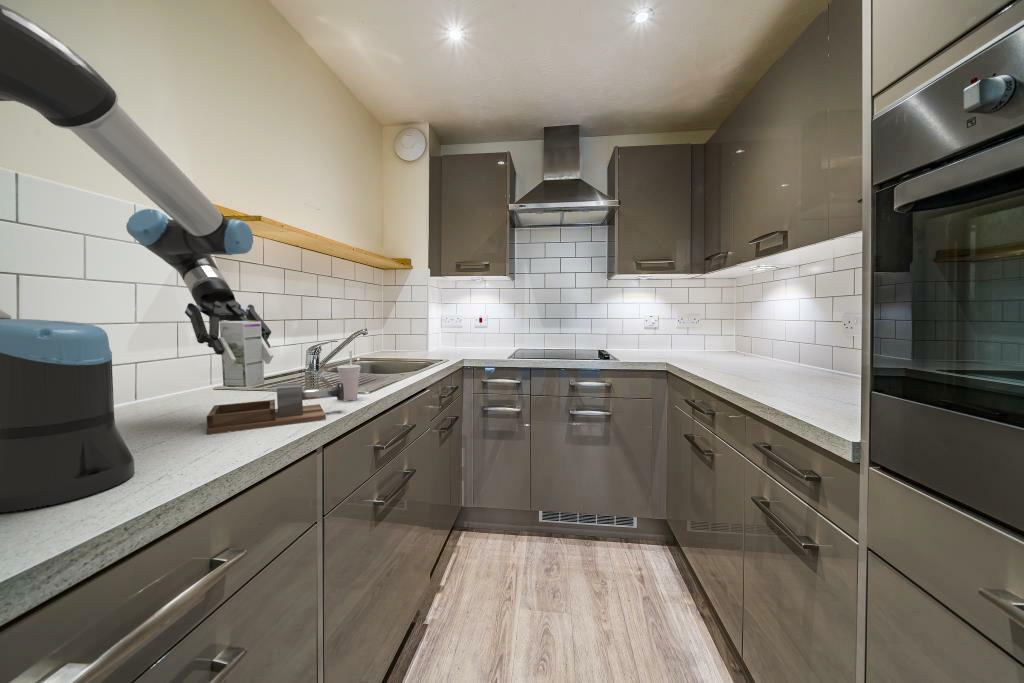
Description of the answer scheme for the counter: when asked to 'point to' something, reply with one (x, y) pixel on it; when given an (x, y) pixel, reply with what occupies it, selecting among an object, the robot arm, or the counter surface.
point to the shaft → (324, 393)
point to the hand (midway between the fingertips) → (251, 361)
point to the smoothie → (349, 379)
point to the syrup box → (243, 353)
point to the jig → (264, 412)
